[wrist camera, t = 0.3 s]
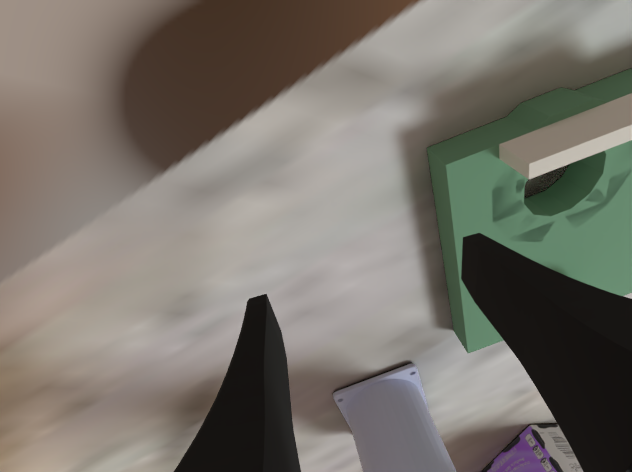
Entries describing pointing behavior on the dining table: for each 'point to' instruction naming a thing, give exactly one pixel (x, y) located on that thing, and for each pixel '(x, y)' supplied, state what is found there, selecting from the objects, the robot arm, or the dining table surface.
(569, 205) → the green
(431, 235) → the dining table surface
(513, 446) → the candy box
